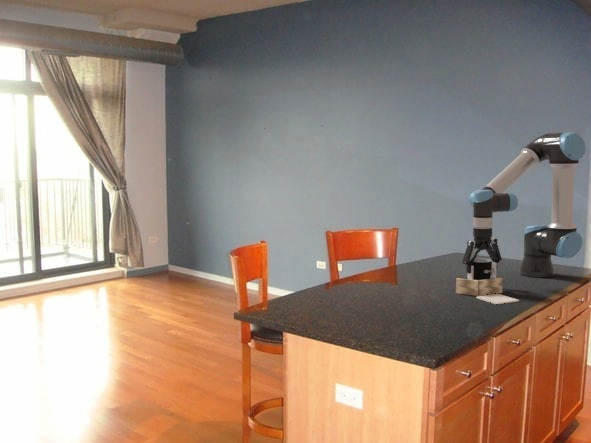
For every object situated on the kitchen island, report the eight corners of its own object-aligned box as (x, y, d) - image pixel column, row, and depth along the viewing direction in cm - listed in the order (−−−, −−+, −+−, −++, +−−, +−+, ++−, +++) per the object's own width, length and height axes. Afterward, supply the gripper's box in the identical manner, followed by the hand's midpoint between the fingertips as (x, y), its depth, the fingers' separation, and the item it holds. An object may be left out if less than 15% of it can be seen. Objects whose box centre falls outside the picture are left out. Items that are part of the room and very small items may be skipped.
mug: (484, 287, 232) (484, 263, 231) (464, 284, 239) (464, 260, 238) (499, 282, 240) (499, 258, 239) (480, 279, 247) (480, 256, 246)
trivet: (497, 295, 229) (498, 293, 229) (518, 301, 219) (519, 299, 219) (476, 298, 224) (476, 296, 224) (496, 304, 214) (496, 303, 214)
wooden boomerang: (488, 288, 240) (488, 274, 239) (502, 292, 233) (502, 278, 232) (454, 292, 233) (455, 278, 232) (468, 297, 226) (468, 282, 225)
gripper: (498, 224, 245) (497, 274, 248) (453, 228, 235) (453, 280, 238) (511, 226, 238) (510, 277, 241) (465, 230, 229) (465, 284, 231)
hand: (481, 279), depth 239 cm, fingers closed on mug, 11 cm apart
